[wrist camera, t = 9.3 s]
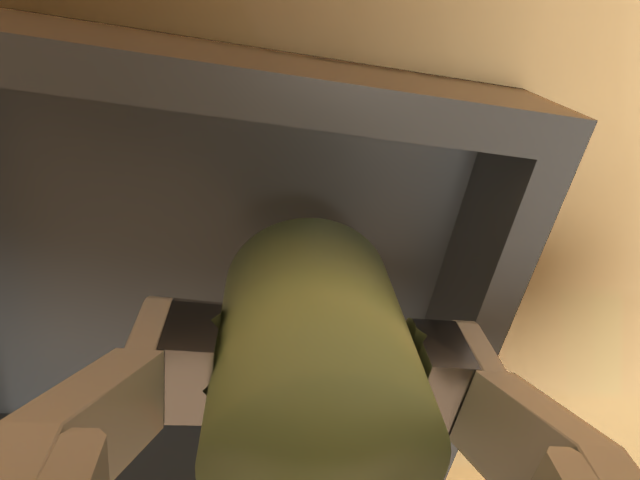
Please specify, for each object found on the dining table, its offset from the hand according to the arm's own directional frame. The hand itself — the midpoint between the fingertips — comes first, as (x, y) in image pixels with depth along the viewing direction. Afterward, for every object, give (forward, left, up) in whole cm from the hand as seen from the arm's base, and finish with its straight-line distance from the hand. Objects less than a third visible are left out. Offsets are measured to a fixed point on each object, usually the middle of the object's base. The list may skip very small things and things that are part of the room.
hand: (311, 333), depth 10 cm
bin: (-2, -2, -5) cm, 6 cm away
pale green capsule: (0, 0, -2) cm, 2 cm away
